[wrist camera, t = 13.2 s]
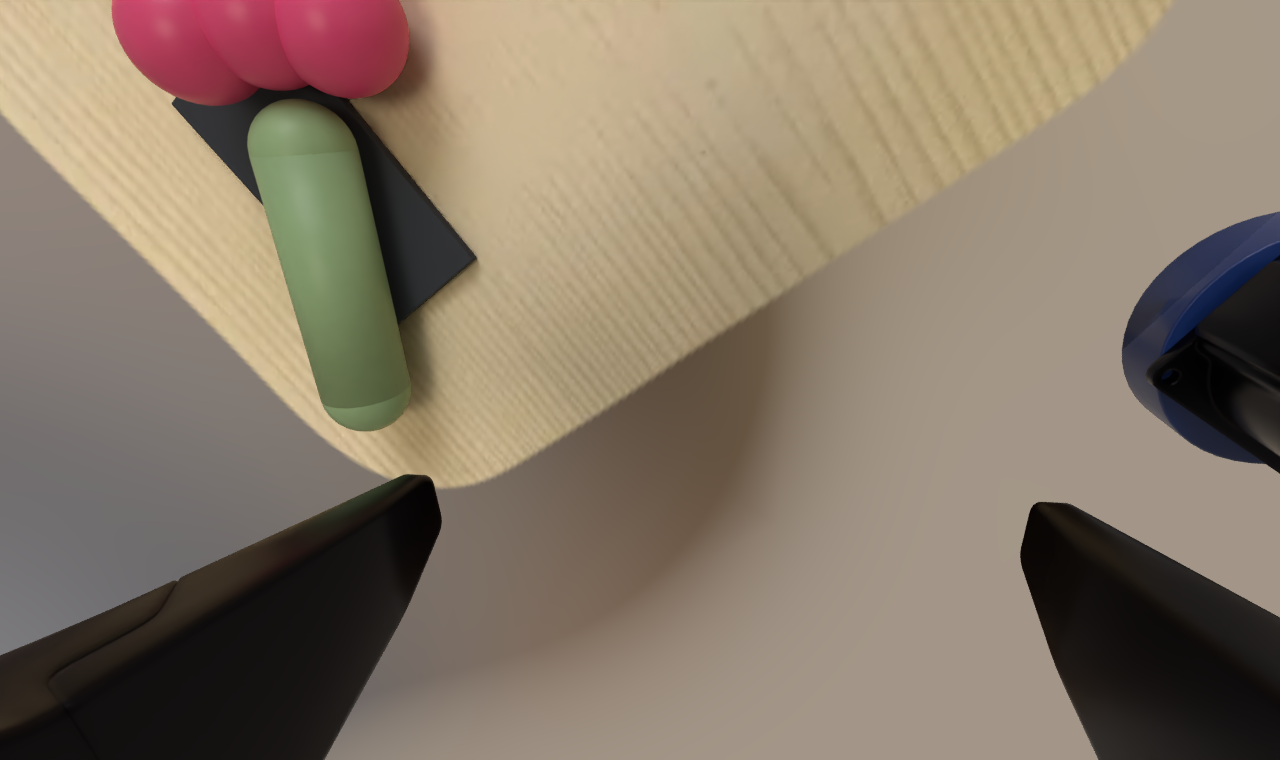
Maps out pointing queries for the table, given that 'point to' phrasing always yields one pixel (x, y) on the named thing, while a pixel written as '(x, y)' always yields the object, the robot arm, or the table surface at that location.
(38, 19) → the table surface
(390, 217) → the placemat
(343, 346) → the green pink knobbed rod
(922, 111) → the table surface
